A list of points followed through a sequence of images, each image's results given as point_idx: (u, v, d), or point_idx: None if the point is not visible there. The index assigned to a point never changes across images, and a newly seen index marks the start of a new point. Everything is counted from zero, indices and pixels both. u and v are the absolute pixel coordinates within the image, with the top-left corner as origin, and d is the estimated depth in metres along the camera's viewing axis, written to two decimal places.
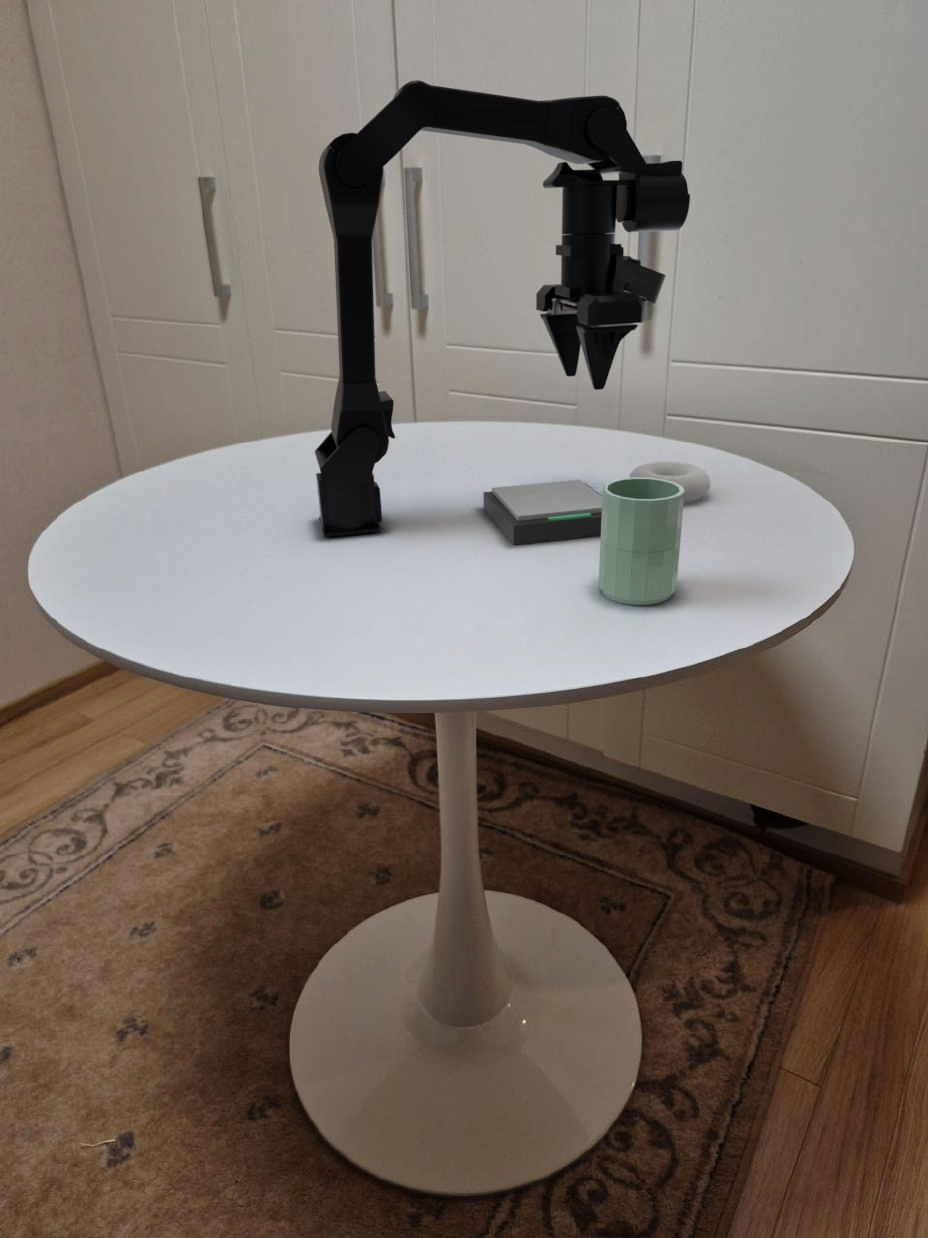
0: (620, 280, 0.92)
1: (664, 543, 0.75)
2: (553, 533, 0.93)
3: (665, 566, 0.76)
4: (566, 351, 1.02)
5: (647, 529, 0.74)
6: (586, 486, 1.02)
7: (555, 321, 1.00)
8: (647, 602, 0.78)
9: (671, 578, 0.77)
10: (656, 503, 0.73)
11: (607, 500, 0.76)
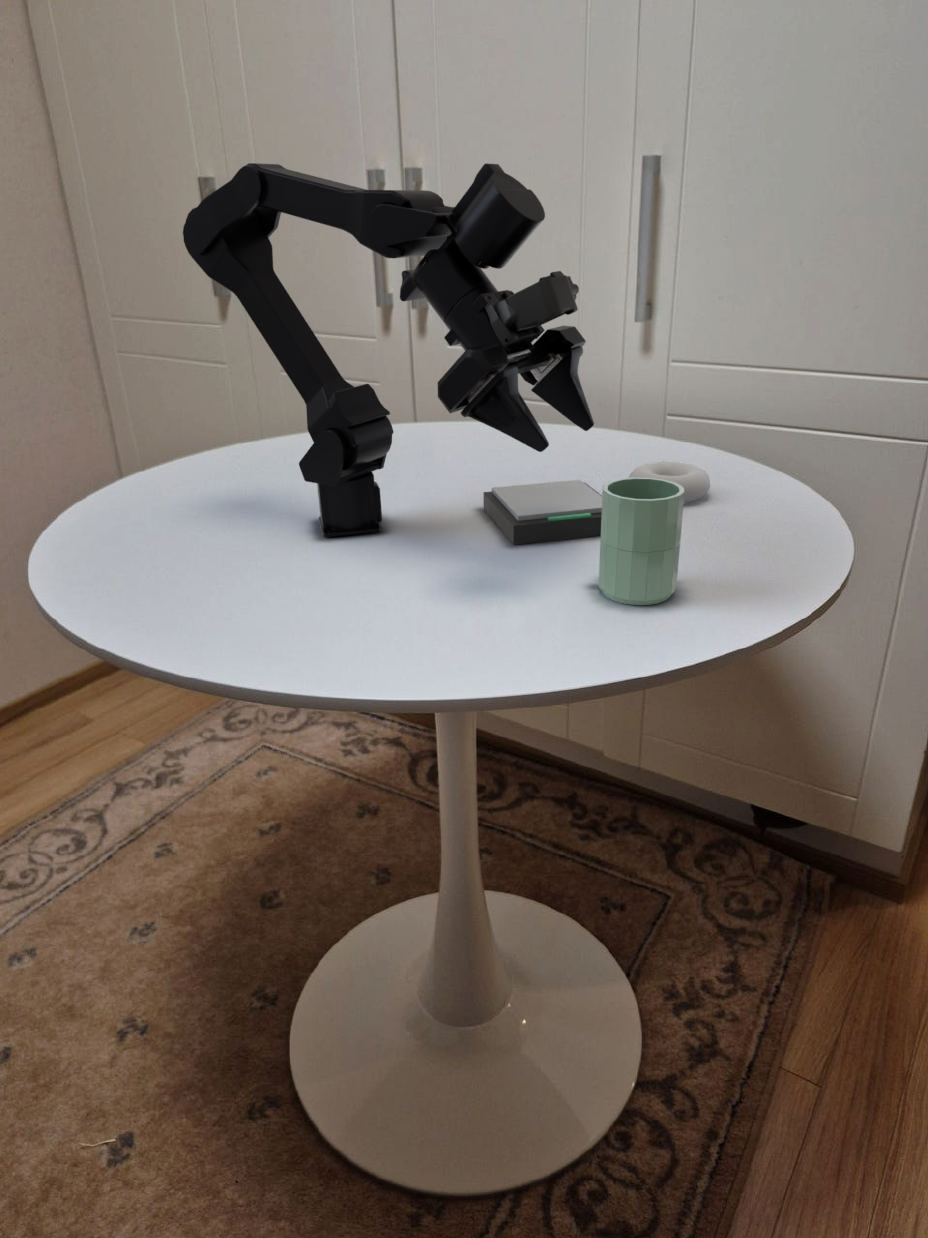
0: (500, 327, 0.76)
1: (664, 543, 0.75)
2: (553, 533, 0.93)
3: (665, 566, 0.76)
4: (568, 408, 0.84)
5: (647, 529, 0.74)
6: (586, 486, 1.02)
7: (541, 388, 0.85)
8: (647, 602, 0.78)
9: (671, 578, 0.77)
10: (656, 503, 0.73)
11: (607, 500, 0.76)
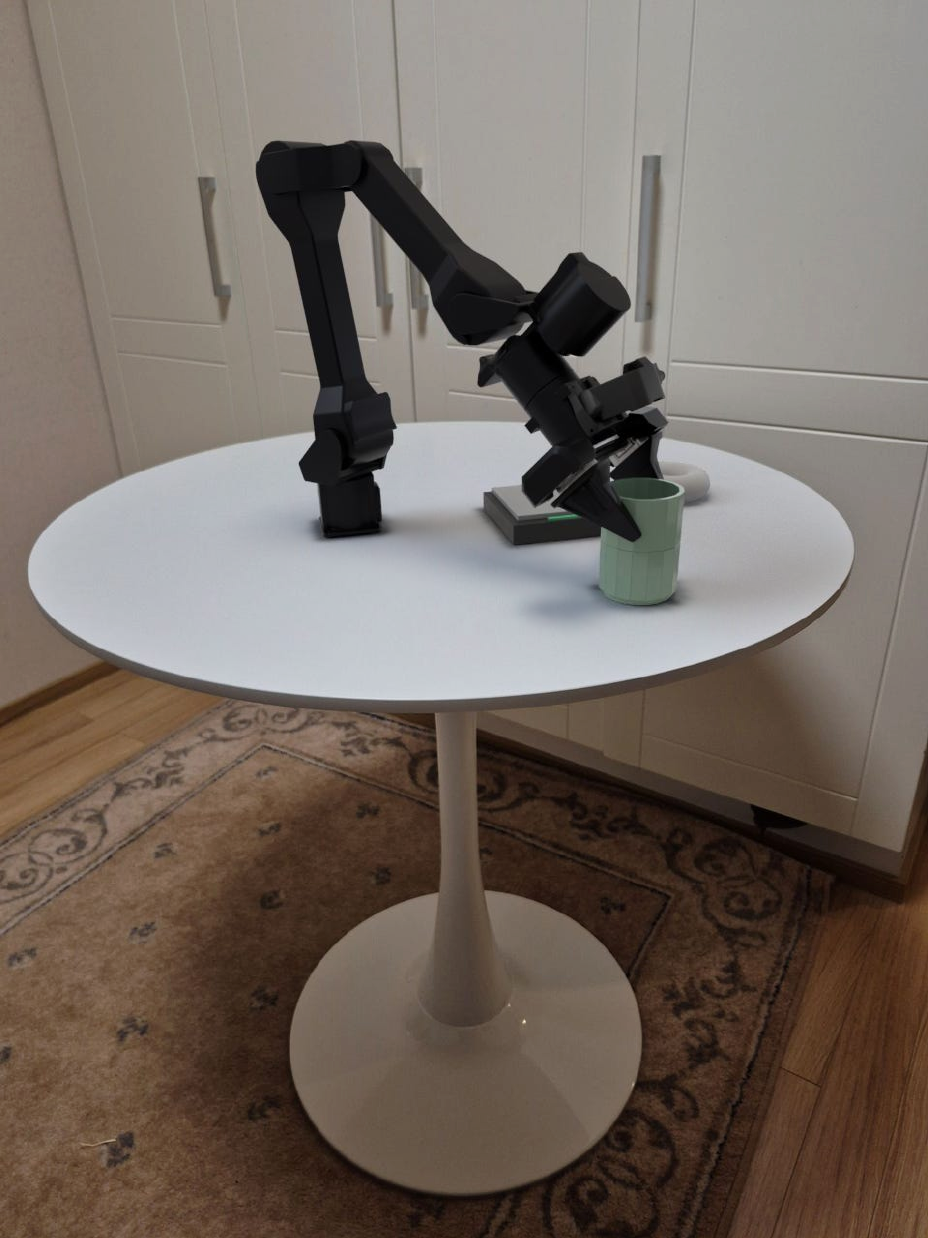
0: (585, 418, 0.74)
1: (664, 543, 0.75)
2: (553, 533, 0.93)
3: (665, 566, 0.76)
4: None
5: (647, 529, 0.74)
6: None
7: (618, 473, 0.82)
8: (647, 602, 0.78)
9: (672, 578, 0.77)
10: (656, 503, 0.73)
11: None
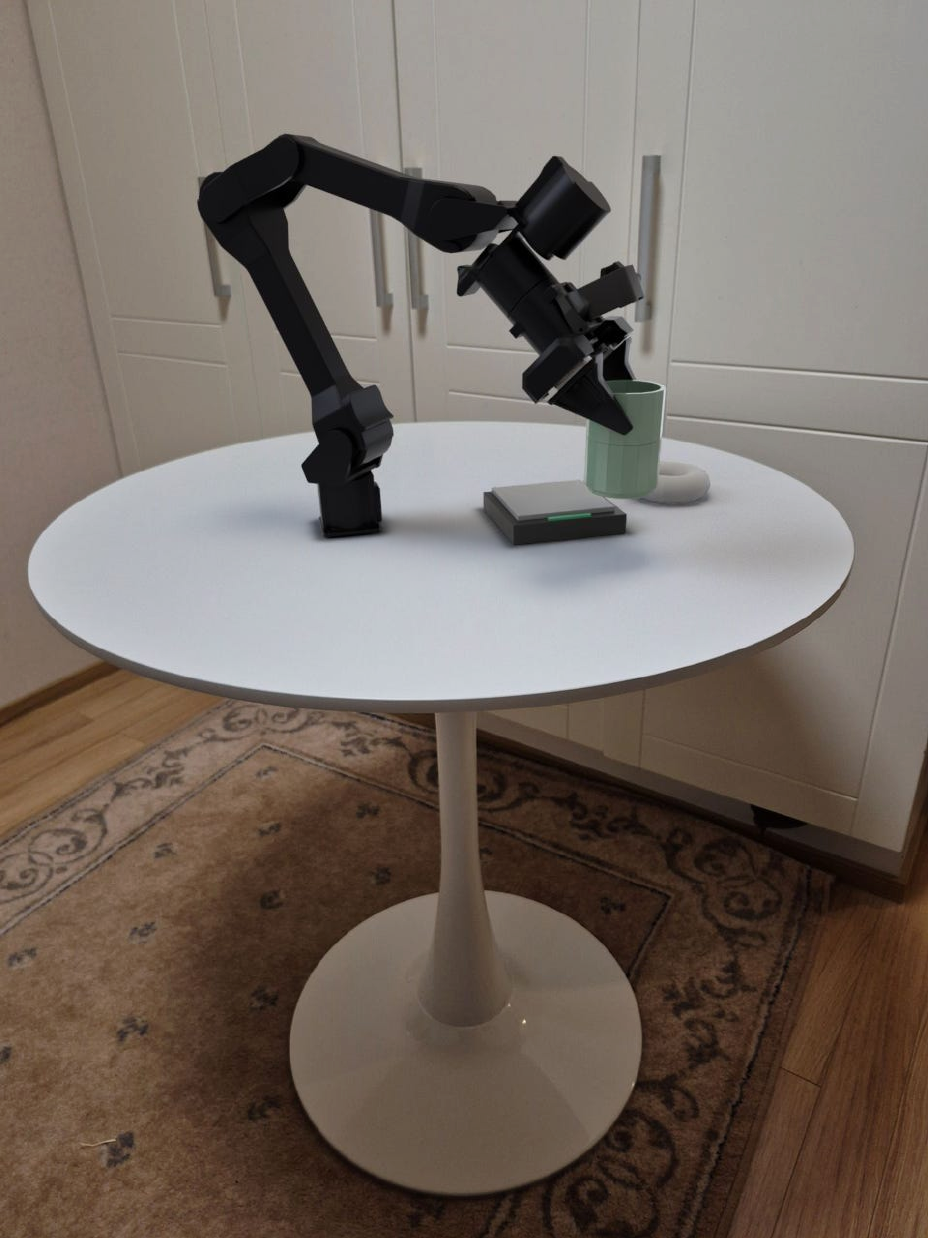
0: (574, 317, 0.77)
1: (652, 436, 0.80)
2: (553, 533, 0.93)
3: (652, 459, 0.81)
4: None
5: (638, 422, 0.79)
6: None
7: None
8: (636, 495, 0.82)
9: (656, 471, 0.82)
10: (645, 395, 0.78)
11: None
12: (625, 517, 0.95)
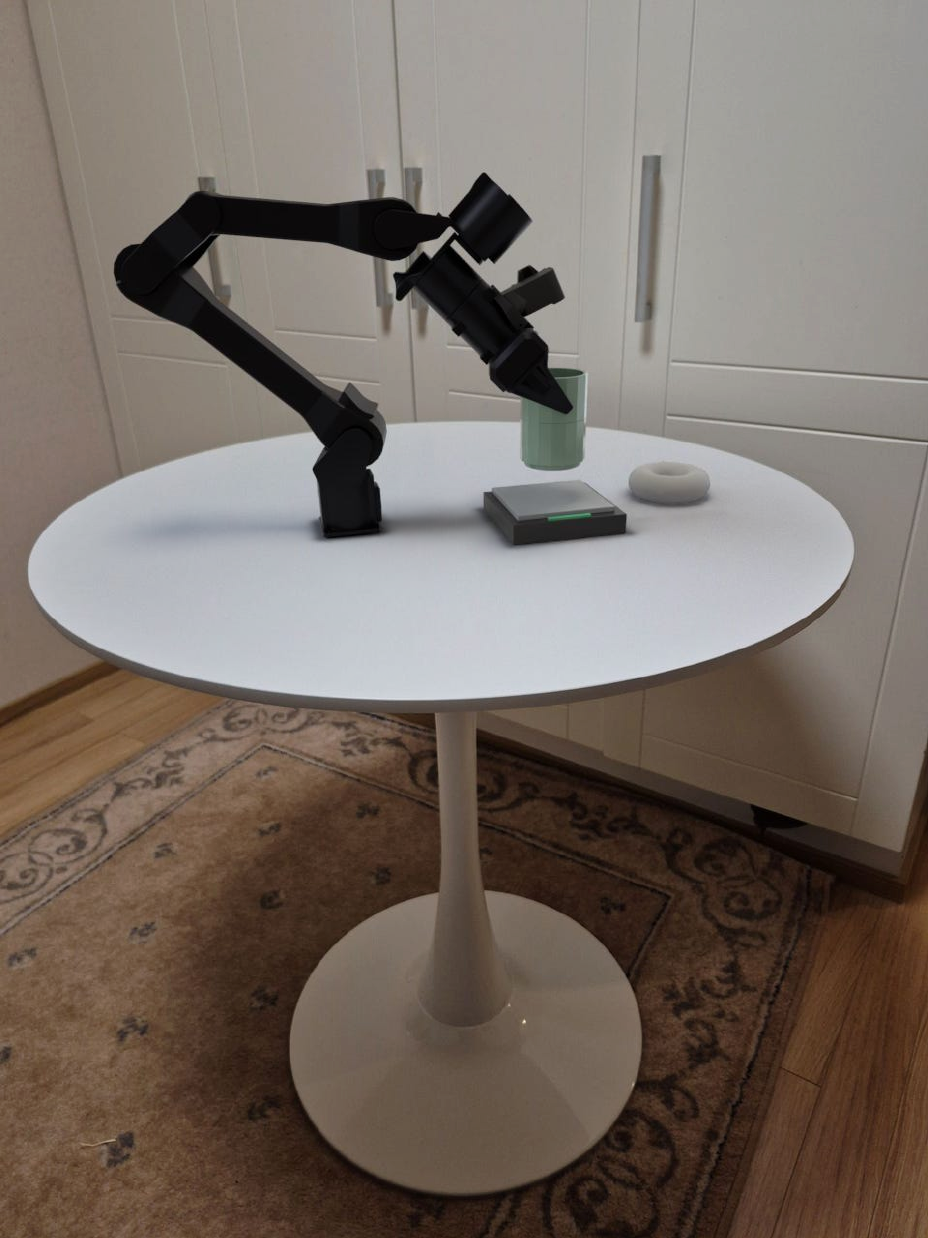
0: (514, 314, 0.87)
1: (583, 413, 0.93)
2: (553, 533, 0.93)
3: (583, 433, 0.94)
4: None
5: (575, 402, 0.91)
6: (586, 486, 1.02)
7: None
8: (573, 466, 0.95)
9: (584, 444, 0.96)
10: (579, 378, 0.90)
11: None
12: (625, 517, 0.95)
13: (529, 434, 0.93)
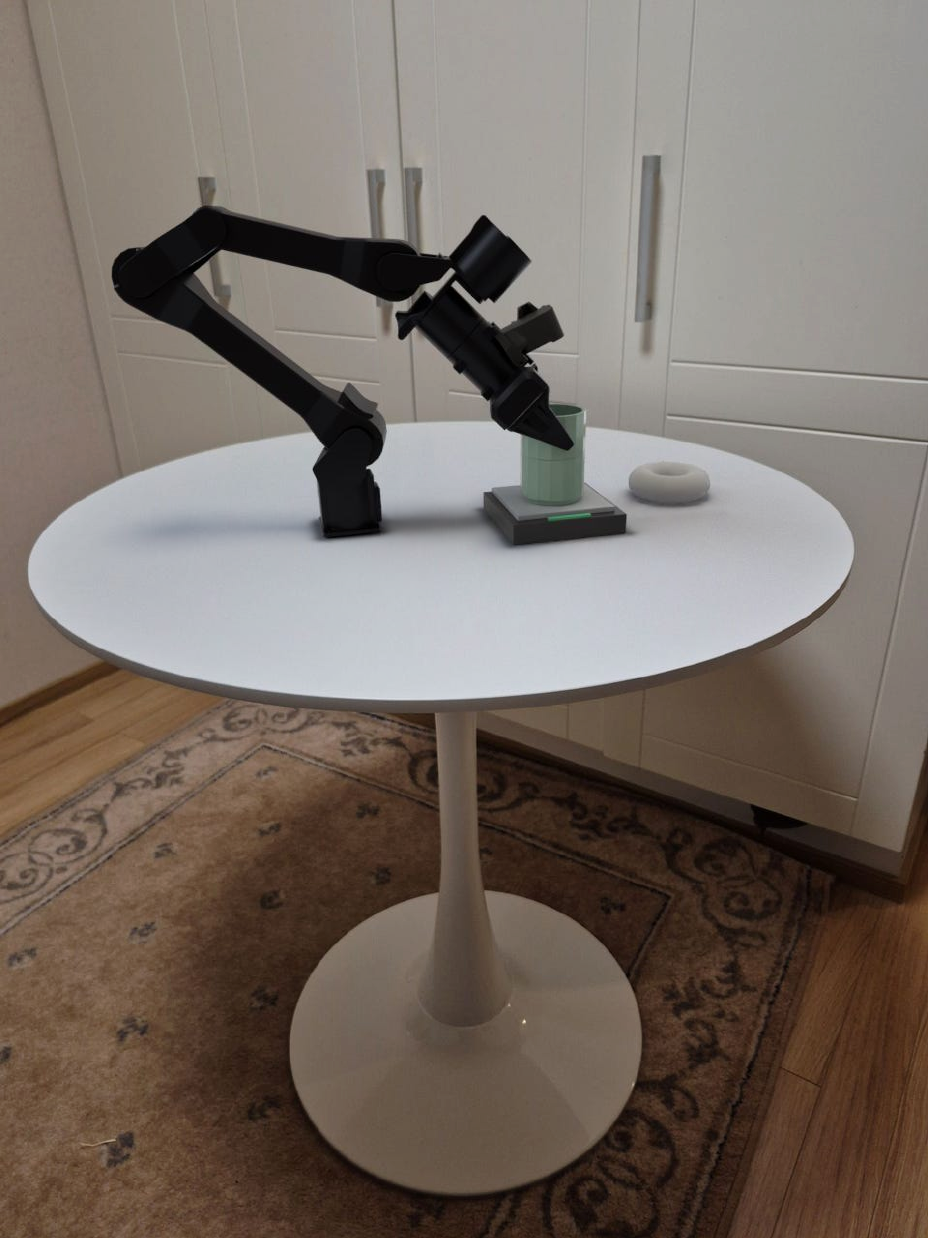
0: (514, 352, 0.89)
1: (582, 449, 0.95)
2: (553, 533, 0.93)
3: (582, 468, 0.96)
4: None
5: (573, 439, 0.93)
6: (586, 486, 1.02)
7: None
8: (572, 500, 0.96)
9: (583, 478, 0.97)
10: (578, 416, 0.92)
11: None
12: (625, 517, 0.95)
13: (529, 470, 0.95)
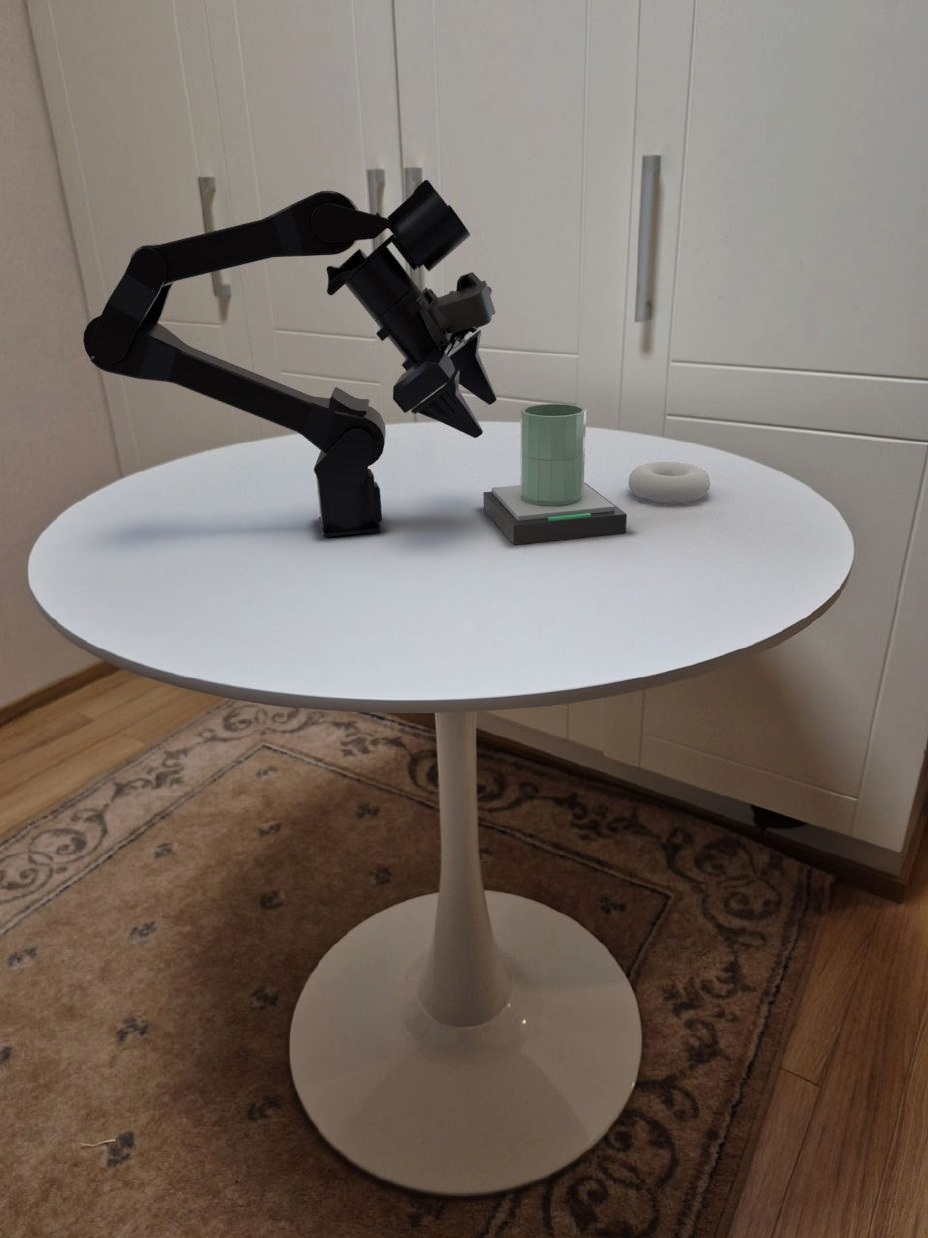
0: (436, 331, 0.88)
1: (582, 449, 0.95)
2: (553, 533, 0.93)
3: (582, 468, 0.96)
4: (473, 385, 0.98)
5: (573, 439, 0.93)
6: (586, 486, 1.02)
7: None
8: (572, 500, 0.96)
9: (583, 478, 0.97)
10: (578, 416, 0.92)
11: (537, 422, 0.92)
12: (625, 517, 0.95)
13: (529, 470, 0.95)
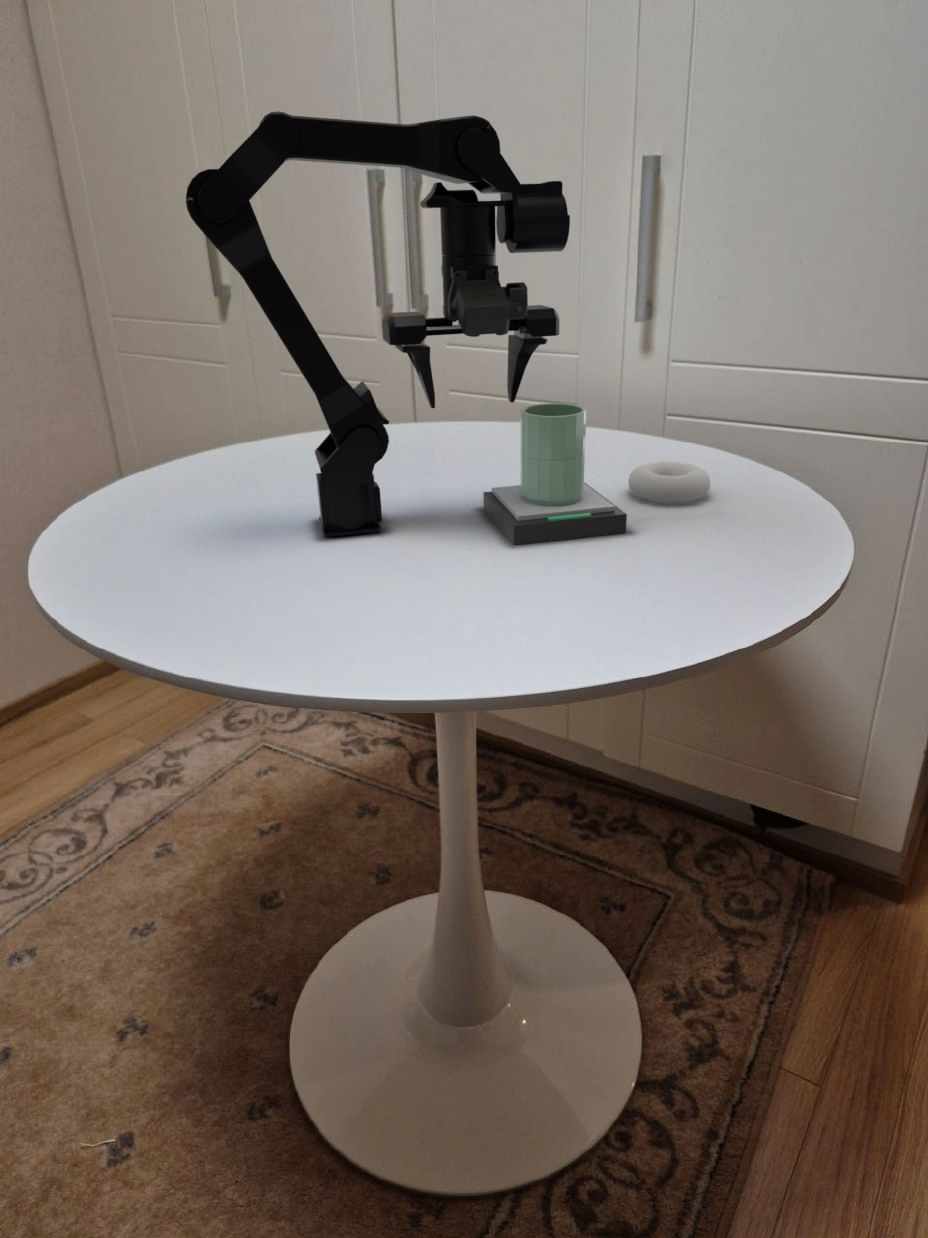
0: (449, 304, 0.89)
1: (582, 449, 0.95)
2: (553, 533, 0.93)
3: (582, 468, 0.96)
4: (509, 375, 0.97)
5: (573, 439, 0.93)
6: (586, 486, 1.02)
7: (510, 342, 0.97)
8: (572, 500, 0.96)
9: (583, 478, 0.97)
10: (578, 416, 0.92)
11: (537, 422, 0.92)
12: (625, 517, 0.95)
13: (529, 470, 0.95)
